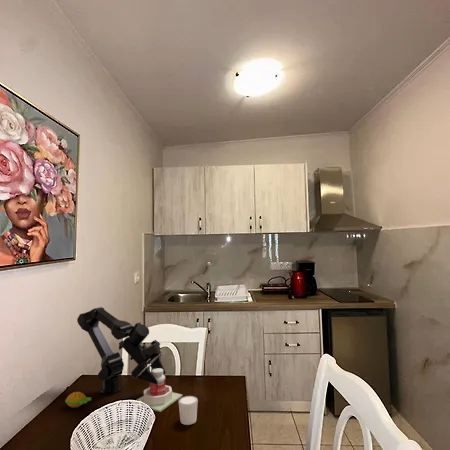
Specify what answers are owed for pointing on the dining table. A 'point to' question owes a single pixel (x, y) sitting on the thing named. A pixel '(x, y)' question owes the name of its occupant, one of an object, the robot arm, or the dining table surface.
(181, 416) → the shot glass
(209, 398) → the dining table surface
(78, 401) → the toy pineapple
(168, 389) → the octagonal tray
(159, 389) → the pill bottle
